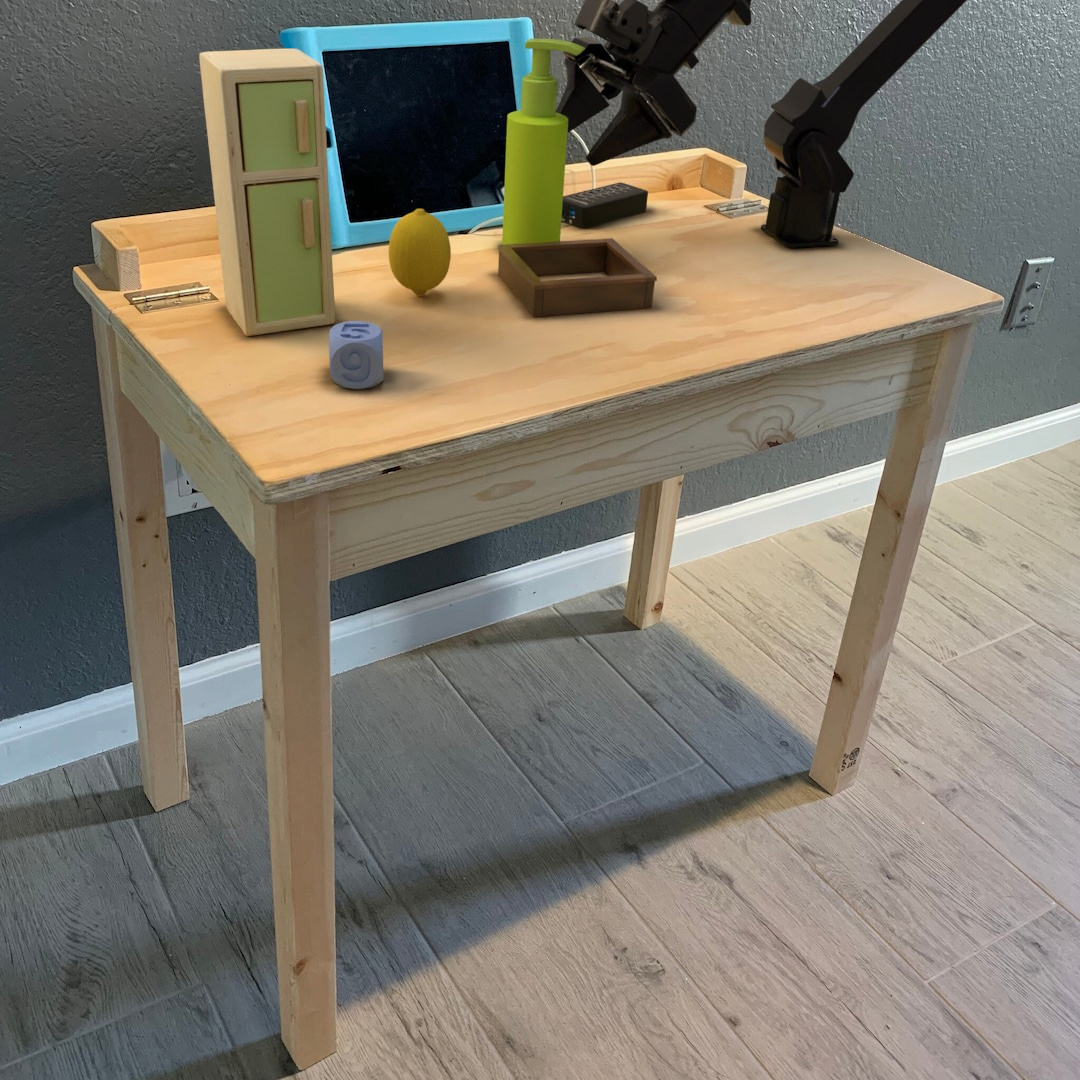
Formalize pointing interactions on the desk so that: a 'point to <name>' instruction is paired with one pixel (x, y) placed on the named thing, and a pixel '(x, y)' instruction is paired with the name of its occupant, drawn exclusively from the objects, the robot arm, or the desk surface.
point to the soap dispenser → (536, 153)
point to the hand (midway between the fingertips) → (568, 149)
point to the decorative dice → (356, 354)
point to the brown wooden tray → (581, 295)
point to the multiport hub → (603, 205)
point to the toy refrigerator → (270, 186)
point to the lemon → (419, 252)
